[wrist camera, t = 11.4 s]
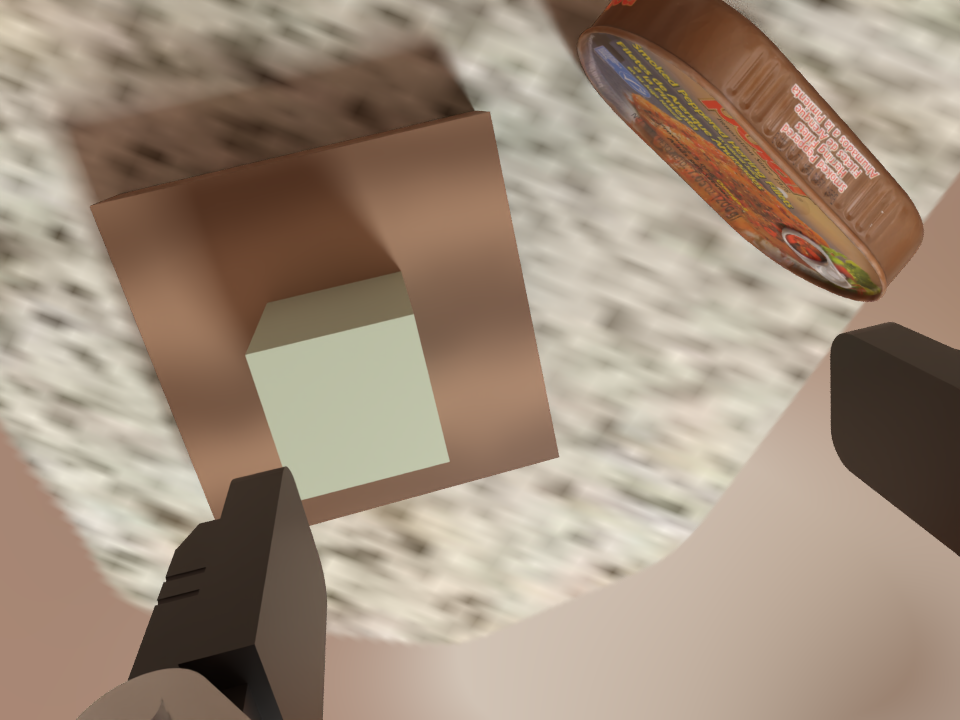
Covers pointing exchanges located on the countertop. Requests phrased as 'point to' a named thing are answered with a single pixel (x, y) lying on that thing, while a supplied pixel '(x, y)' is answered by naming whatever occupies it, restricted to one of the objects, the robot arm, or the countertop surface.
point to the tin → (753, 140)
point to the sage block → (346, 386)
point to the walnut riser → (330, 263)
